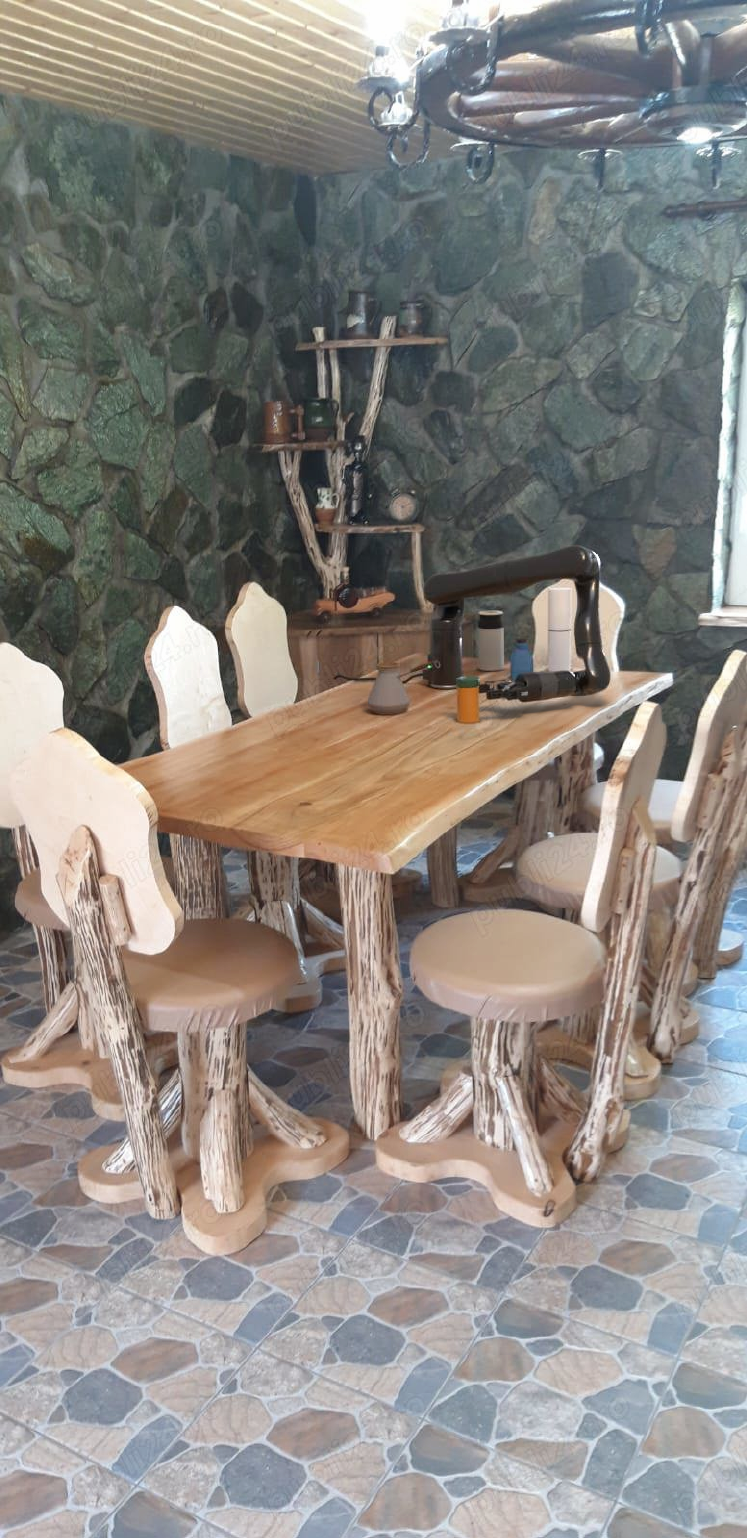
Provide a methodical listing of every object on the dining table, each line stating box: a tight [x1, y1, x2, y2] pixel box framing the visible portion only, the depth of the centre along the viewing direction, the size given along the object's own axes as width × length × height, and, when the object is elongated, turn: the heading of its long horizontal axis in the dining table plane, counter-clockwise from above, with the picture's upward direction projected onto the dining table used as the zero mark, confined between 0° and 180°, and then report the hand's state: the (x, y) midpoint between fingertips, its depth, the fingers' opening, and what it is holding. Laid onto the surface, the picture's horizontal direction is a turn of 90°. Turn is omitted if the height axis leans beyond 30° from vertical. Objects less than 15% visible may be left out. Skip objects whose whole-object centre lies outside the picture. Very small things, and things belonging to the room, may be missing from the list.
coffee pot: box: [367, 660, 440, 716], centre depth 310 cm, size 21×12×15 cm, turn 57°
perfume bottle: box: [509, 637, 534, 681], centre depth 353 cm, size 6×6×12 cm
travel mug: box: [477, 610, 505, 672], centre depth 368 cm, size 8×8×18 cm
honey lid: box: [456, 675, 481, 687], centre depth 299 cm, size 6×6×2 cm
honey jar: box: [456, 686, 480, 724], centre depth 300 cm, size 6×6×11 cm
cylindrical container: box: [547, 587, 573, 672], centre depth 363 cm, size 7×7×25 cm
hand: (479, 692), depth 301 cm, fingers open, 8 cm apart
